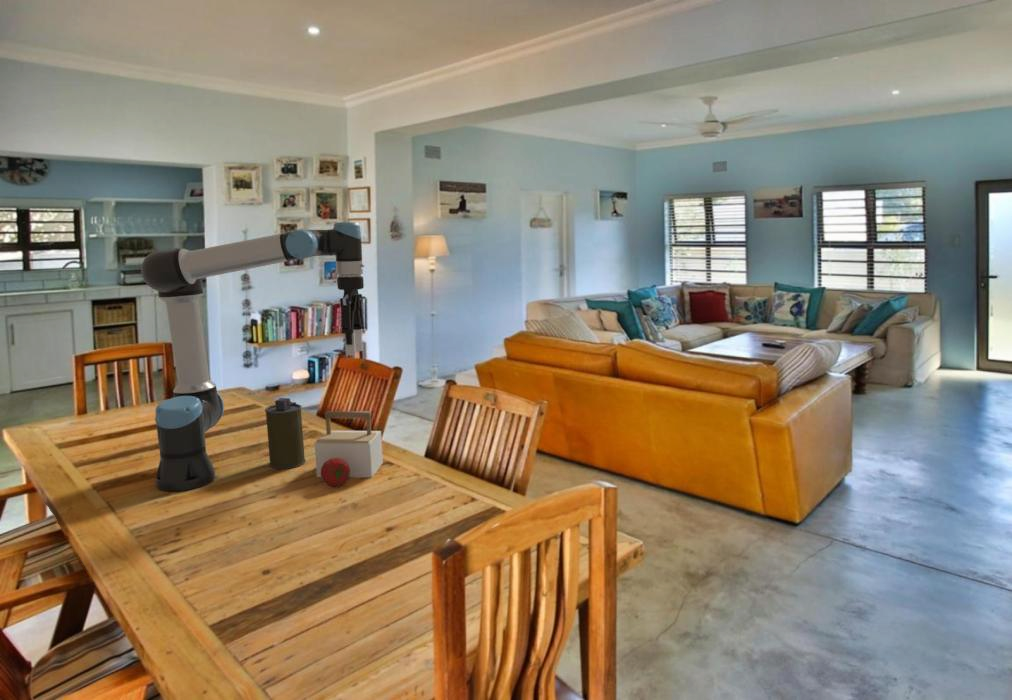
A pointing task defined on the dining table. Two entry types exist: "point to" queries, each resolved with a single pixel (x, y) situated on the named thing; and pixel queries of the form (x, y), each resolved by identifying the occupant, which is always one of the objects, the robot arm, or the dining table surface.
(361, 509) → the dining table surface
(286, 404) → the canister
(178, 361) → the robot arm
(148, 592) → the dining table surface
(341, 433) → the flap
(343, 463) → the tomato
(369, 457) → the carton
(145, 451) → the dining table surface
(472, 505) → the dining table surface
